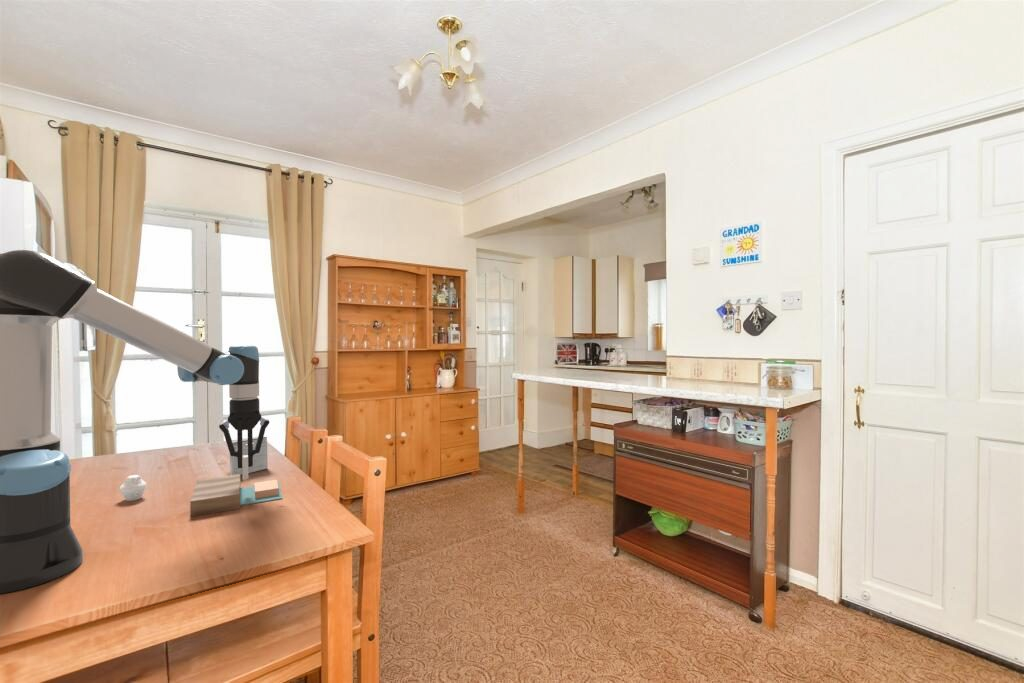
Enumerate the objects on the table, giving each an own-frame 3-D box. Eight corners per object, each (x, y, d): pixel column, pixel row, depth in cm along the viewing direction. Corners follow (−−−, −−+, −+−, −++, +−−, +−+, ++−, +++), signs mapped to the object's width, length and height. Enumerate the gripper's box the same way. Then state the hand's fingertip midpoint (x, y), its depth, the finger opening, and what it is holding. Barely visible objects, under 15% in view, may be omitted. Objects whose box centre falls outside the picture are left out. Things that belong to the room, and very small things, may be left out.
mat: (282, 498, 130) (282, 497, 130) (237, 506, 125) (237, 505, 125) (278, 483, 144) (278, 482, 144) (238, 489, 138) (238, 488, 138)
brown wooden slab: (239, 508, 123) (239, 493, 123) (190, 516, 118) (190, 501, 118) (240, 487, 140) (240, 474, 140) (197, 493, 135) (197, 480, 135)
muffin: (123, 497, 132) (122, 473, 132) (149, 493, 135) (149, 470, 134) (116, 504, 126) (116, 479, 126) (144, 500, 129) (143, 476, 129)
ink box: (265, 468, 161) (265, 435, 161) (268, 469, 159) (267, 436, 159) (229, 475, 152) (228, 441, 152) (231, 477, 150) (231, 442, 150)
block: (254, 491, 130) (255, 498, 130) (278, 488, 133) (278, 494, 133) (254, 482, 137) (254, 489, 138) (276, 479, 141) (276, 485, 141)
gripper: (269, 395, 139) (269, 471, 139) (218, 398, 132) (219, 478, 132) (270, 398, 132) (271, 478, 133) (217, 401, 126) (218, 485, 126)
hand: (245, 478), depth 133 cm, fingers closed
